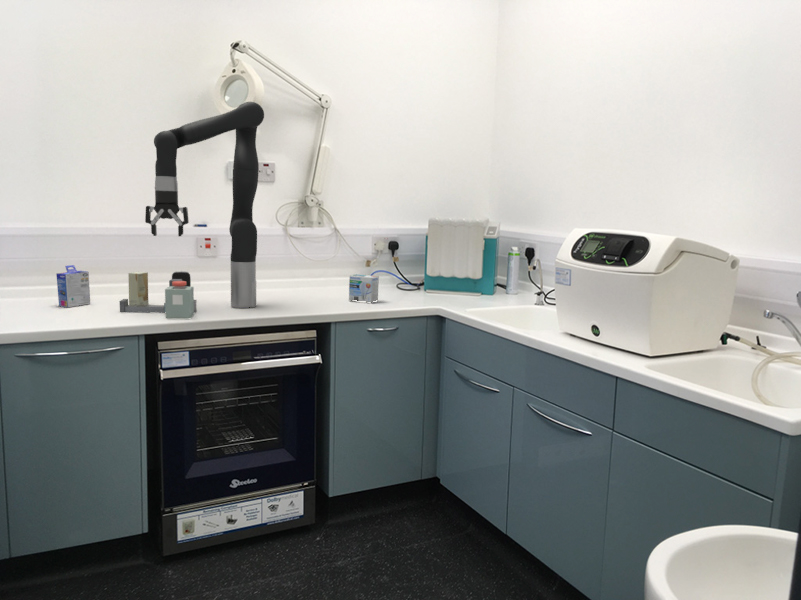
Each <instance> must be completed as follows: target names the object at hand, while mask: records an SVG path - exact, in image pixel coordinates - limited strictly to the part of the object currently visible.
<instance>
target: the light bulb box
mask: <svg viewBox="0 0 801 600" xmlns="http://www.w3.org/2000/svg"><path fill="white" fill-rule="evenodd" d="M379 280H380V277H379V275H370V274H352V275H350V276H349V283H348V286H349V287H348V301H349V300H357V301H366V302H373V301H376V300H378V301H379Z"/></svg>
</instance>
